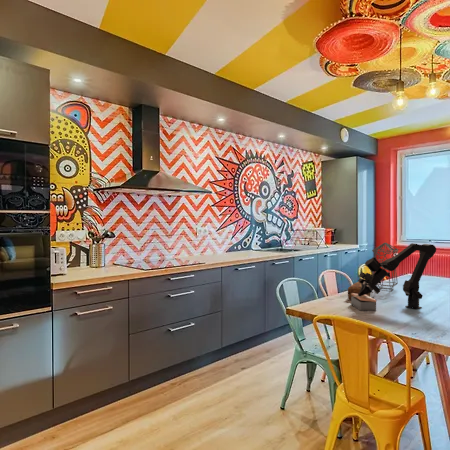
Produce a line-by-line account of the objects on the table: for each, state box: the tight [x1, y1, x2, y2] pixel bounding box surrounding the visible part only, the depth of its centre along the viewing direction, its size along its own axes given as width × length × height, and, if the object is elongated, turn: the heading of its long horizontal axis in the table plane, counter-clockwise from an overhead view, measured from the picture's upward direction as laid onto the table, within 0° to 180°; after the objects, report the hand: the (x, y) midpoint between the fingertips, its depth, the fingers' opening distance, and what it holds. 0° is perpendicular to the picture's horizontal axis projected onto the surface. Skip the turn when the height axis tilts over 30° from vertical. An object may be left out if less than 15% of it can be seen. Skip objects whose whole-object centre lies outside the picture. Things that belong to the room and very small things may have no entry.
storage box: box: [350, 297, 377, 312], centre depth 205 cm, size 9×14×5 cm, turn 1°
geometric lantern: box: [371, 242, 399, 292], centre depth 256 cm, size 16×16×35 cm
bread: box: [347, 281, 372, 301], centre depth 229 cm, size 19×11×10 cm, turn 143°
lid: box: [351, 293, 377, 303], centre depth 205 cm, size 9×14×1 cm, turn 1°
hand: (358, 295), depth 205 cm, fingers closed, pressing on lid
